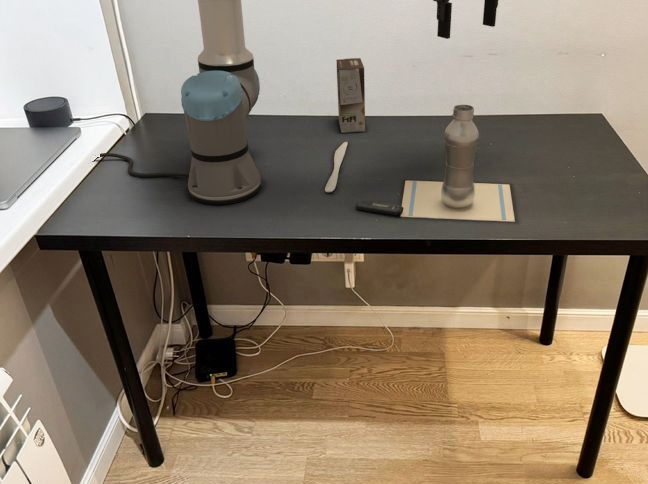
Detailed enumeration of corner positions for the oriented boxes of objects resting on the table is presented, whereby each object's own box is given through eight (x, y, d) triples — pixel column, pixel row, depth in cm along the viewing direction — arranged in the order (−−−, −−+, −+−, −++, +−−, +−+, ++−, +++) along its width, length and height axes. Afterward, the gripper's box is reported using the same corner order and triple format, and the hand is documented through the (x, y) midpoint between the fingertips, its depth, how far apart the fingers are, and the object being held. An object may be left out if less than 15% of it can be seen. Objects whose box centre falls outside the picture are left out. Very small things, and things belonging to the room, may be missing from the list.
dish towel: (400, 217, 127) (400, 216, 127) (405, 181, 140) (405, 180, 140) (514, 222, 124) (514, 221, 124) (509, 185, 137) (509, 184, 137)
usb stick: (354, 210, 129) (354, 203, 128) (359, 204, 131) (359, 197, 130) (399, 217, 126) (399, 210, 125) (404, 211, 128) (404, 204, 127)
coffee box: (366, 131, 164) (365, 68, 155) (340, 133, 163) (338, 69, 154) (362, 118, 171) (360, 57, 162) (337, 120, 171) (335, 58, 162)
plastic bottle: (473, 213, 127) (481, 114, 116) (438, 210, 128) (443, 112, 117) (474, 198, 132) (483, 102, 121) (441, 195, 133) (447, 101, 122)
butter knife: (319, 190, 135) (333, 190, 135) (338, 141, 158) (350, 141, 157) (320, 193, 136) (333, 192, 135) (339, 144, 158) (351, 143, 158)
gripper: (443, -82, 110) (437, 46, 122) (533, -93, 124) (520, 23, 135) (412, -84, 115) (409, 39, 127) (502, -95, 128) (492, 18, 140)
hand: (466, 31), depth 131 cm, fingers open, 13 cm apart
